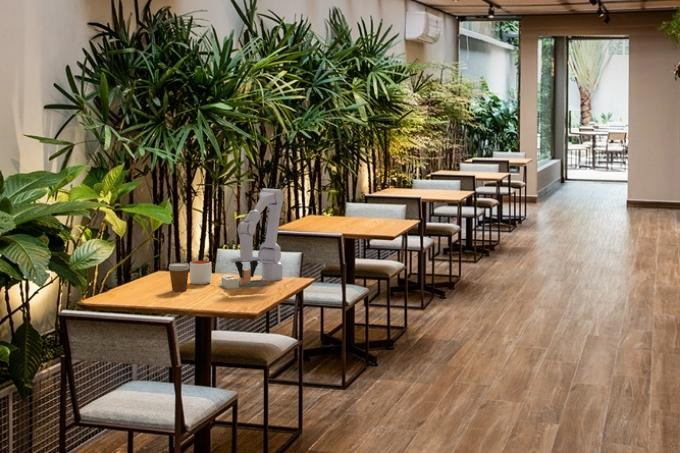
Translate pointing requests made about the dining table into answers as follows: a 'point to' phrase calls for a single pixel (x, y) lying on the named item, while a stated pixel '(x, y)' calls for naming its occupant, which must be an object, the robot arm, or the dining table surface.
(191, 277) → the cup
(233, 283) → the pitch board
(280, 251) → the robot arm
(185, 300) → the dining table surface
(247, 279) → the figure
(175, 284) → the disposable coffee cup
